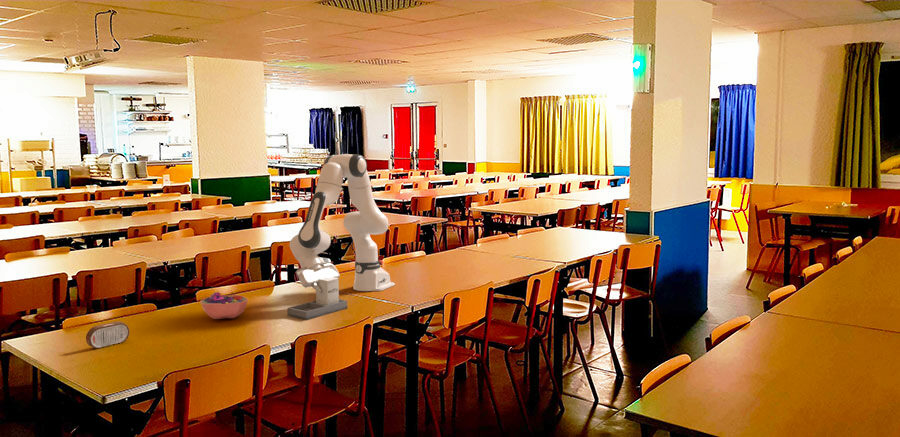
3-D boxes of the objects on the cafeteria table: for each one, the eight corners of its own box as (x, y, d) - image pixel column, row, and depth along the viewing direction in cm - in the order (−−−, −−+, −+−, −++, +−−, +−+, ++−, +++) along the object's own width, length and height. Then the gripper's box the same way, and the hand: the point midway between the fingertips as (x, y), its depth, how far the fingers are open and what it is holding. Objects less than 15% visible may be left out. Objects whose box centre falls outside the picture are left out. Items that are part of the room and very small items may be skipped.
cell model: (236, 325, 278) (235, 298, 276) (192, 322, 281) (191, 296, 280) (256, 314, 294) (255, 288, 293) (214, 312, 298) (213, 287, 297)
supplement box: (327, 308, 296) (326, 280, 294) (315, 306, 301) (315, 278, 299) (339, 305, 302) (338, 277, 300) (328, 302, 306) (327, 275, 305)
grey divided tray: (328, 304, 310) (328, 297, 309) (347, 308, 303) (347, 300, 302) (287, 315, 291) (287, 307, 290) (306, 320, 284) (306, 312, 283)
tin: (127, 340, 258) (125, 318, 257) (131, 341, 256) (129, 320, 255) (86, 350, 247) (84, 327, 246) (90, 351, 245) (88, 329, 244)
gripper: (297, 265, 295) (313, 290, 290) (332, 258, 311) (347, 281, 306) (291, 274, 298) (307, 298, 293) (325, 266, 314) (341, 290, 310)
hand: (328, 290), depth 300 cm, fingers closed on supplement box, 7 cm apart
